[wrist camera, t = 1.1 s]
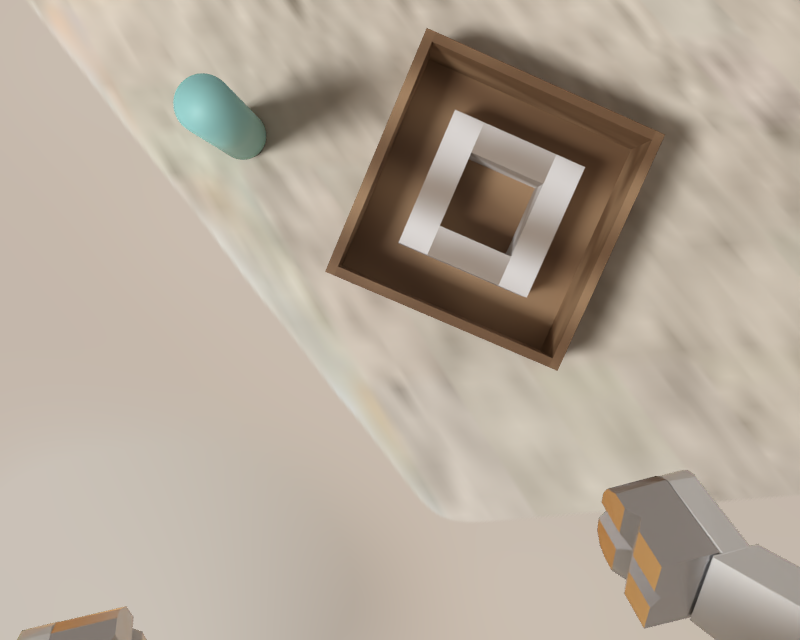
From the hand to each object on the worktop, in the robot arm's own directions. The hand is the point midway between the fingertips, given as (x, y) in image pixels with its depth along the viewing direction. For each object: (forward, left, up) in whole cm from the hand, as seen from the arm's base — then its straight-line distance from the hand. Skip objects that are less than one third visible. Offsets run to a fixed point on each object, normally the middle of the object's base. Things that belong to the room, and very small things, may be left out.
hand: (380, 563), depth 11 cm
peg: (-8, -14, -34) cm, 38 cm away
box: (-10, +2, -34) cm, 36 cm away
